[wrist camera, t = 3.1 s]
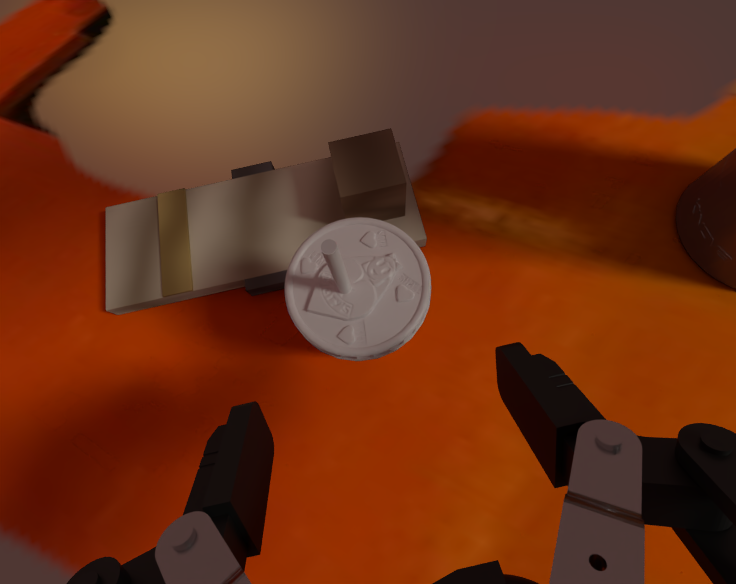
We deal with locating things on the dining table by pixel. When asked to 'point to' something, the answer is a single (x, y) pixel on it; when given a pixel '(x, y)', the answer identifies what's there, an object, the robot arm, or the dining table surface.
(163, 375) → the dining table surface
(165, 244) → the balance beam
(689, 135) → the dining table surface
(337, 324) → the white drink cup
